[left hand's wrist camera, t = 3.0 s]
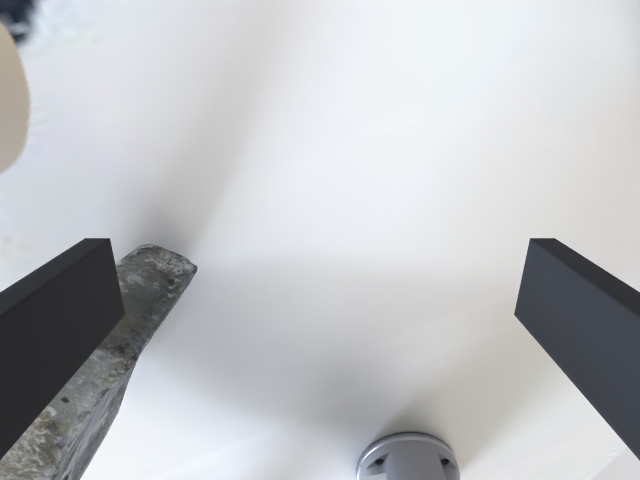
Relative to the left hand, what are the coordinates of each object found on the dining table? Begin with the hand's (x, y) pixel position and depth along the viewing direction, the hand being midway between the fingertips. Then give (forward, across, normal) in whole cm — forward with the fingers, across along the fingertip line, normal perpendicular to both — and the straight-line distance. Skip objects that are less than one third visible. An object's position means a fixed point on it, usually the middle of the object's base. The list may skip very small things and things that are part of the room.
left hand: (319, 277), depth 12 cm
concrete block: (+32, +24, +22) cm, 46 cm away
